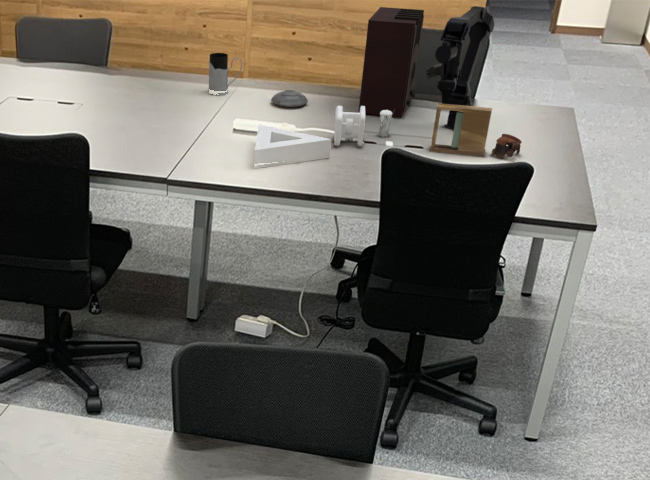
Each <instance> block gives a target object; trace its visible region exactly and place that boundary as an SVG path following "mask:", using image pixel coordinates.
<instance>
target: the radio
mask: <svg viewBox="0 0 650 480" xmlns="http://www.w3.org/2000/svg"><path fill="white" fill-rule="evenodd" d="M424 19H425V9H417V8H416V9H415V8H403V7H402V8H401V7H387V6H380V7H379V8H378V9H377V10H376V11H375V12H374V14H372V16H371V17H370V18H369V19H368V21H367V30H366V39H365V49H364V57H363V67H362V77H361V84H360V85H361V86H360V95H359V104H358V112H357V113H360V107H361V106H365V116H367V115H375V116H380V112H381V111H382V110H389V111H391V112H392V113H393V114H392V117H393V118H396V119H401V118H402V117H403V116H404V114H405V112H406V110H407V108H408V107H409V106H411V101H412V99H413V98H415V96H416V91H415V84H416V76H417V70H418V69H417V68H418V61H419V57H420V56H419V54H420V49H421V48H420V47H421V40H422V35H423V34H422V33H423V28H424V27H423V26H424ZM393 111H394V112H393Z"/></svg>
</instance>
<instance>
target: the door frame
mask: <svg viewBox="0 0 650 480" xmlns="http://www.w3.org/2000/svg"><path fill="white" fill-rule="evenodd" d="M442 110H443V111H450V110H452V111H463V112H464V116H463V122H462V127H461V133H460V139H459V145H458V148H454V147H451V145H450V144H449V145H448V144H439V143H437V136H438V130H439V125H440V124H439V123H440V118H441V111H442ZM492 112H493V107H487V106H486V107H484V106H473V105H472V106H464V105H453V104H442V102H438V104H437V106H436V112H435V119H434V125H433V131H432V138H431V144H430V148H429V152H431V153H433V152H434V153H443V154H451V155H452V154H453V155H461V156H471V157H482V158H484V157H485V154H486V146H487V145H486V144H487V139H488V133H489V128H490V122H491V118H492Z"/></svg>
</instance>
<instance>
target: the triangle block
mask: <svg viewBox="0 0 650 480" xmlns="http://www.w3.org/2000/svg"><path fill="white" fill-rule="evenodd" d="M331 147H332V138H326V137H322V136H317V135H312V134H307V133H303V132H298V131H293V130H288V129H283V128H278V127H273V126H269V125H264V124H258V127H257V132H256V139H255V144H254V152H253V153H254V154H253V169H254V170H256V168H257V169H263V168H268V167H276V166H283V165H289V164H297V163H303V162H309V161H311V162H312V161H316V160H323V159H329V158H330V157H331V149H332V148H331ZM283 161H284V162H283ZM272 162H278V163H272ZM258 163H271V164H264V165H257V166H254V164H258ZM254 167H255V168H254Z"/></svg>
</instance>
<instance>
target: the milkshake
mask: <svg viewBox="0 0 650 480" xmlns="http://www.w3.org/2000/svg"><path fill="white" fill-rule="evenodd" d="M393 112H394V111H393ZM392 114H393V113H392V112H391V111H389V110H382V111H381V112H380V115H379V123H378V124H379V126H378V136H379V137H381V138H387V137H388V136H389V132H390V128H391V121H392V118H393V116H392Z"/></svg>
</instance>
